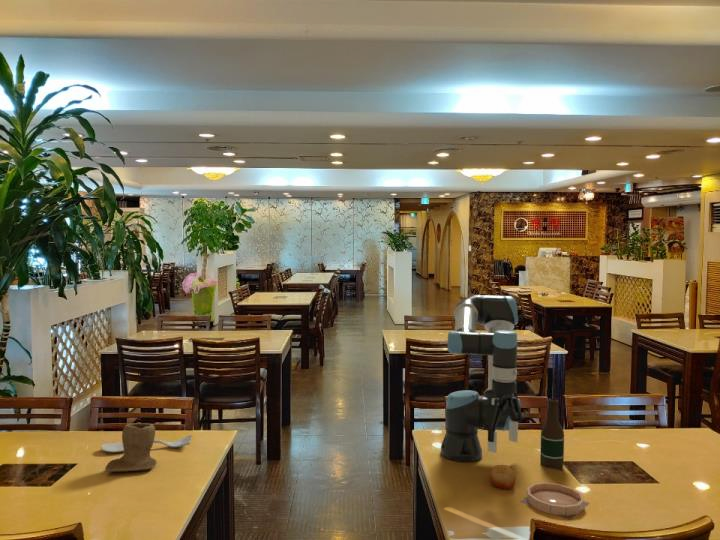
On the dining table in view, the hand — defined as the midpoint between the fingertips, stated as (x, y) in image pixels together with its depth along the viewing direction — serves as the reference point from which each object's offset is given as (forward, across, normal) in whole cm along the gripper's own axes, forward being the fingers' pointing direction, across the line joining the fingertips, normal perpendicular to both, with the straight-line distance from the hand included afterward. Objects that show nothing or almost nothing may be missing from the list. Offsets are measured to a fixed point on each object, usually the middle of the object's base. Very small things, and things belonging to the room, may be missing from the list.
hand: (502, 446), depth 166 cm
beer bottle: (+14, +28, -4) cm, 32 cm away
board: (+14, +1, -17) cm, 22 cm away
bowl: (+13, +1, -17) cm, 21 cm away
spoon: (+14, -66, +112) cm, 130 cm away
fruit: (+14, 0, 0) cm, 14 cm away
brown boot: (+14, -77, +97) cm, 125 cm away
